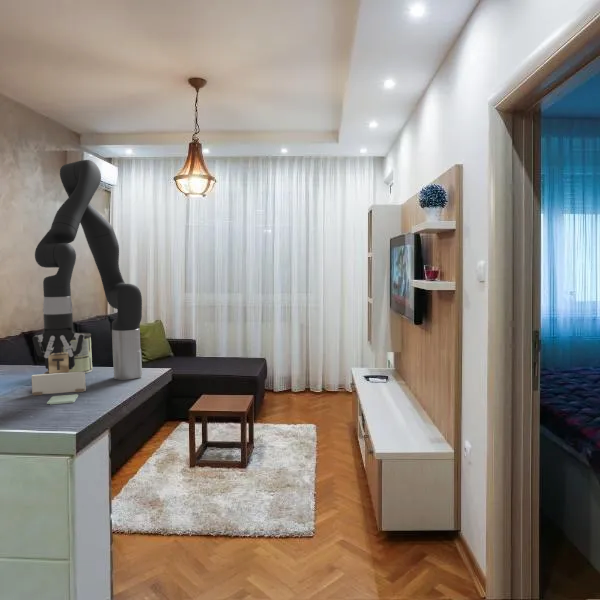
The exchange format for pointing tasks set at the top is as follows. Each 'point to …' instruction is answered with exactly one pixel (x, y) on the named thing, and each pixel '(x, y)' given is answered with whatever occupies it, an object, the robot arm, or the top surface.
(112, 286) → the robot arm
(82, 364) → the coffee can
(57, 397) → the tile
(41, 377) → the screen
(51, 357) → the letter cube
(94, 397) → the top surface
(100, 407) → the top surface
